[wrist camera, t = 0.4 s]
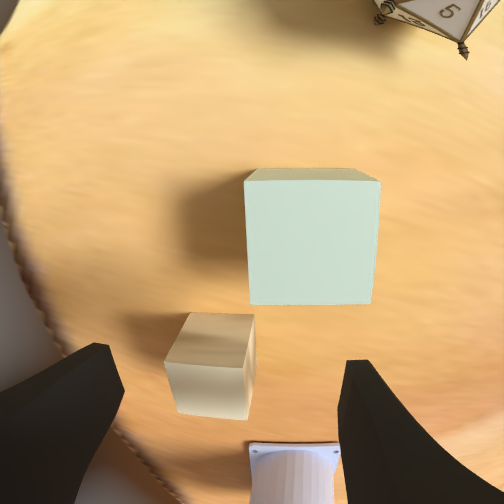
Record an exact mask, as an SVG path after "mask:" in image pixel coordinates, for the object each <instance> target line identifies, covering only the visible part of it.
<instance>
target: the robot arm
mask: <svg viewBox="0 0 504 504" xmlns="http://www.w3.org/2000/svg"><path fill="white" fill-rule="evenodd" d="M124 392H125V390H124V387H123V385H122V382H121V379H120V377H119V374H118V371H117V368H116V365H115V362H114V359H113V356H112V353H111V350H110V347H109V345H106V344H100V343H92V344H90V345H88V346H86V347H84V348H82V349H80V350H78V351H76V352H75V353H73V354H71V355H69V356H68V357H66V358H64V359H62V360H61V361H59V362H57V363H55V364H54V365H52V366H50V367H49V368H47V369H45V370H43V371H42V372H40V373H38V374H36V375H34V376H32V377H30V378H28V379H26V380H25V381H23V382H21V383H19V384H17V385H15V386H13V387H11V388H9V389H6V390H4V391H2V392H0V504H74V502H75V499H76V496H77V493H78V490H79V487H80V484H81V482H82V479H83V476H84V474H85V472H86V470H87V467H88V465H89V463H90V462H91V460H92V458H93V456H94V454H95V452H96V450H97V449H98V447H99V445H100V443H101V442H102V440H103V438H104V436H105V434H106V433H107V431H108V429H109V427H110V425H111V424H112V422H113V420H114V418H115V416H116V414H117V411H118V409H119V406H120V403H121V401H122V398H123V395H124ZM337 410H338V435H339V443H319V444H278V443H255V442H254V443H250V444H249V458H250V467H251V476H252V489H251V495H250V502H249V504H334V485H333V476H334V473H335V470H336V467H337V464H338V461H339V458H340V454H341V457H342V464H343V470H344V477H345V484H346V491H347V499H348V504H504V492H502V491H501V490H499V489H497V488H495V487H494V486H492V485H491V484H489V483H488V482H486V481H485V480H483V479H482V478H480V477H479V476H477V475H476V474H475V473H473V472H472V471H470V470H469V469H467V468H466V467H465V466H464V465H462V464H461V463H460V462H459V461H457V460H456V459H455V458H454V457H453V456H451V455H450V454H449V453H448V452H447V451H446V450H445V449H444V448H442V447H441V446H440V445H439V444H438V443H437V442H436V441H435V440H434V439H433V438H432V437H431V436H430V435H429V434H428V433H427V432H426V430H425V429H424V428H423V427H422V426H421V425H420V424H419V423H418V422H417V421H416V420H415V418H414V417H413V416H412V415H411V414H410V413H409V412H408V410H407V409H406V408H405V407H404V405H403V404H402V403H401V402H400V401H399V399H398V398H397V397H396V396H395V394H394V393H393V392H392V391H391V389H390V388H389V387H388V385H387V384H386V383H385V381H384V380H383V379H382V377H381V376H380V375H379V373H378V372H377V371H376V369H375V368H374V367H373V365H372V364H371V363H370V361H369V360H347V362H346V367H345V373H344V379H343V384H342V389H341V394H340V399H339V404H338V409H337Z"/></svg>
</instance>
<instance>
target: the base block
mask: <svg viewBox="0 0 504 504" xmlns="http://www.w3.org/2000/svg"><path fill="white" fill-rule="evenodd" d="M380 190H381V181H379V180H377V179H375V178H373V177H371V176H369V175H367V174H365V173H362V172H360V171H358V170H356V169H349V168H268V169H256V170H255V171H254V172H253V173H252V174H251V175H250V176H249V177H248V178H247V179H245V180H244V198H245V217H246V236H247V254H248V272H249V290H250V305H341V304H371V297H372V289H373V281H374V272H375V263H376V253H377V241H378V228H379V212H380Z"/></svg>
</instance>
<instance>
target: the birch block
mask: <svg viewBox="0 0 504 504" xmlns="http://www.w3.org/2000/svg"><path fill="white" fill-rule="evenodd" d="M164 365H165V369H166V373H167V376H168V380H169V384H170V387H171V391H172V394H173V397H174V401H175V404H176V407H177V411H178V413H182V414H189V415H197V416H205V417H214V418H224V419H236V420H248V414H249V408H250V403H251V397H252V391H253V385H254V379H255V373H256V368H257V355H256V335H255V315H254V314H219V313H196V312H191V313H190V314H189V316H188V318H187V320H186V322H185V323H184V325H183V327H182V329H181V331H180V332H179V334H178V336H177V338H176V340H175V342H174V343H173V345H172V347H171V349H170V351H169V353H168V354H167V356H166V358H165V360H164Z"/></svg>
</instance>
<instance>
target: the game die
mask: <svg viewBox="0 0 504 504" xmlns="http://www.w3.org/2000/svg"><path fill="white" fill-rule="evenodd" d="M499 1H500V0H373V2H374V3H375V5H376V6H377V8H378V9H379V11H380V12H381V13H380V14H377V16H376V17H375V25H377V24H384V23H383V22H384V21H386V20H385V19H386V17H388V18H392V19H395V20H398V21H401V22H404V23H407V24H410V25H413V26H416V27H419V28H422V29H425V30H427V31H430V32H432V33H435V34H438V35H440V36H442V37H445V38H447V39H450V40H452V41H454V42H457V44H458V49H459V52H460V53H459V54H461V55H462V56H463V57H464V58H465V59H466V60H467V58H468V54H469V53H470V52H468V49H467V48H468V47H466V46H465V44H464V41H465V40H466V39H467V38H468V37H469V35H470V34H471V33H472V32H473V31H474V30H475V29H476V28H477V26H478V25H479V24H480V23H481V22H482V21H483V20H484V18H485V17H486V16H487V15H488V14H489V13H490V12H491V10H492V9H493V8H494V7H495V6H496V5H497V3H498V2H499Z"/></svg>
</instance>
